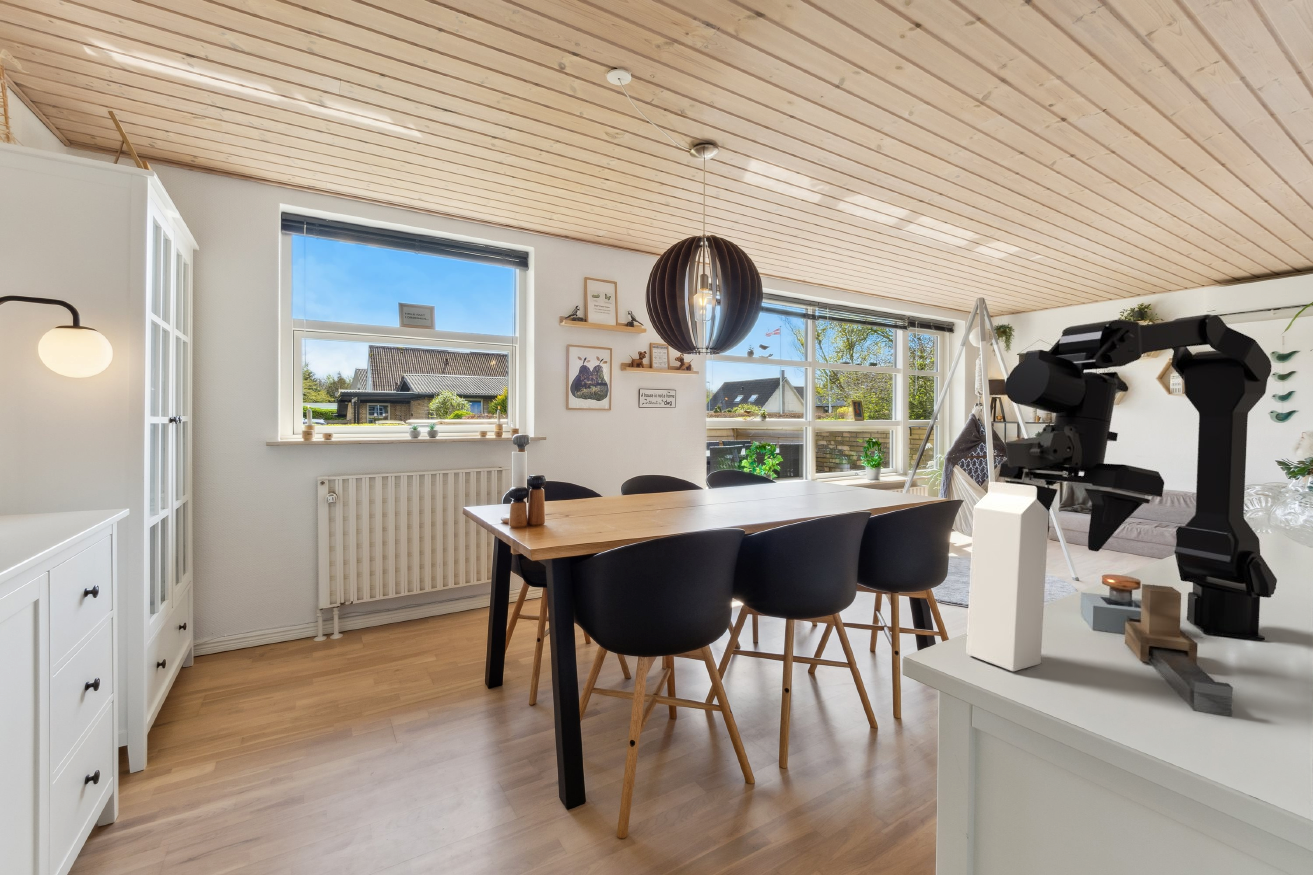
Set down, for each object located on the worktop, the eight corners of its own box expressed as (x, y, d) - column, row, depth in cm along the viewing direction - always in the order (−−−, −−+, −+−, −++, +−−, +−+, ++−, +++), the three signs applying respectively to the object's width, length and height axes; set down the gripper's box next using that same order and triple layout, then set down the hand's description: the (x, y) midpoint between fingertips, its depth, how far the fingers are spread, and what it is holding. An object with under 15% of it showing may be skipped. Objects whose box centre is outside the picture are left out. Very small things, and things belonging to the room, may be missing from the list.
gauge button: (1134, 606, 86) (1135, 576, 86) (1144, 615, 82) (1145, 584, 82) (1097, 602, 88) (1098, 572, 88) (1105, 611, 84) (1106, 580, 84)
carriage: (1176, 650, 75) (1179, 584, 75) (1196, 668, 70) (1199, 598, 70) (1124, 643, 78) (1126, 579, 77) (1140, 660, 72) (1142, 592, 72)
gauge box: (1145, 622, 87) (1146, 599, 86) (1163, 638, 80) (1164, 613, 80) (1080, 614, 90) (1081, 592, 90) (1092, 629, 84) (1093, 605, 83)
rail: (1153, 640, 80) (1154, 618, 79) (1231, 716, 59) (1232, 687, 59) (1126, 637, 81) (1127, 615, 81) (1193, 710, 61) (1194, 681, 61)
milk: (1013, 672, 69) (1023, 486, 69) (964, 654, 74) (973, 481, 74) (1041, 663, 72) (1051, 485, 72) (993, 646, 77) (1001, 480, 77)
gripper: (974, 411, 82) (954, 521, 81) (1090, 404, 63) (1065, 547, 63) (1044, 426, 83) (1026, 535, 83) (1178, 424, 65) (1155, 563, 64)
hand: (1060, 543), depth 73 cm, fingers open, 9 cm apart
